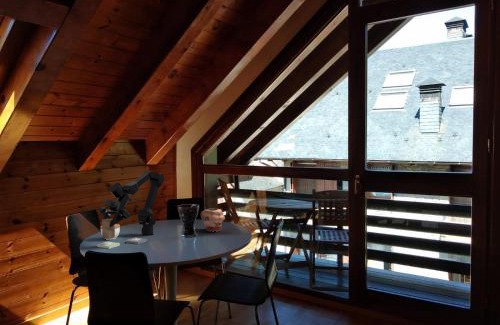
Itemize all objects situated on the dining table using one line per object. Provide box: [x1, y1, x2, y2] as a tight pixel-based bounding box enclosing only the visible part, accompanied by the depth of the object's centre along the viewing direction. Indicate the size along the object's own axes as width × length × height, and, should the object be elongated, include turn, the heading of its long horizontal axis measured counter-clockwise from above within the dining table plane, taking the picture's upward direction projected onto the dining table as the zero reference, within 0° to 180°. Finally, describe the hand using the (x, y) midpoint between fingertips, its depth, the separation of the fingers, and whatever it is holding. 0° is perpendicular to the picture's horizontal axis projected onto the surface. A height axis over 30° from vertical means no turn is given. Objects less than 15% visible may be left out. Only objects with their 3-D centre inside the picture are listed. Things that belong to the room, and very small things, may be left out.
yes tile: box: [96, 241, 121, 250], centre depth 212 cm, size 8×9×1 cm
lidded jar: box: [100, 223, 121, 241], centre depth 229 cm, size 11×11×9 cm
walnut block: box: [101, 218, 115, 239], centre depth 212 cm, size 4×5×10 cm
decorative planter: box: [200, 207, 226, 233], centre depth 250 cm, size 20×12×14 cm, turn 57°
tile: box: [125, 237, 148, 245], centre depth 221 cm, size 8×9×1 cm
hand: (106, 226), depth 211 cm, fingers closed on walnut block, 5 cm apart
